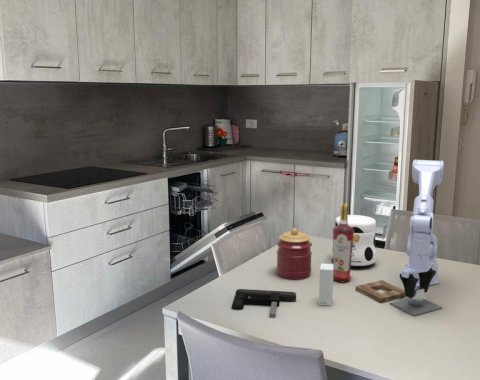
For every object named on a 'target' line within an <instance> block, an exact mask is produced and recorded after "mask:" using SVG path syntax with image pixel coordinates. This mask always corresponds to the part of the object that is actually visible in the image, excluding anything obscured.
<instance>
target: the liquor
mask: <svg viewBox="0 0 480 380" xmlns="http://www.w3.org/2000/svg"><path fill="white" fill-rule="evenodd" d="M348 212H349V203H346V202H345V203H344V202H343V203H340V215H339V216H340V224H339V225H338V226H336V227H335V226H334V227H333V228H332V247H333V255H332V259H333V263H332V264H333V268H334V271H333V280H335V281H337V282H339V283H340V282H341V283H345V282H348V281H349V280H350V279H352V276H351V268H352V267H351V256H352V247H353V236H354V229H353V228H352V227H350V226H348V216H347V215H348Z"/></svg>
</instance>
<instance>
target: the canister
mask: <svg viewBox="0 0 480 380" xmlns="http://www.w3.org/2000/svg"><path fill="white" fill-rule="evenodd" d="M278 238H279V240H278V241H277V242H276V246H277V250H276V274H277V275H278V276H279V277H280V278H283V279H288V280H303V279H306V278H309V277H310V276H311V273H312V255H313V254H312V252H313V251H312V250H311V247H312V245H313V243H312V242H311V241H310V239H311V238H310V236H309V235H307V234H306V233H305V232H303V231H299V229H298V228H296V227H294V228H291V231H290V230H289V231H285V232H284V233H282V234H280V235H279V236H278Z"/></svg>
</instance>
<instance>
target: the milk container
mask: <svg viewBox="0 0 480 380" xmlns="http://www.w3.org/2000/svg"><path fill="white" fill-rule="evenodd" d="M340 216H341V215H339V216H337V217H336V218H335V225H334V227H336V226H338V225H339V224H340ZM347 216H348V226H350V227H352V228H353V229H354V236H353V247H352V256H351V268H366V267H369V266H372V265H373V264H374V263H375V262H376V260H377V257H378V256H377V255H378V249H377V245H376V233H377V229H376V228H377V222H376V219H375V218H373V217H371V216H367V215H361V214H347ZM331 248H332V249H331V254H332V256H333V246H332V247H331Z"/></svg>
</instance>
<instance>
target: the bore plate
mask: <svg viewBox="0 0 480 380" xmlns="http://www.w3.org/2000/svg"><path fill="white" fill-rule="evenodd" d="M379 290H383V291H385V292H379ZM355 291H356V292H358V293H361V294H362V295H364V296H366V297H368V298H370V299H372V300H374V301H376V302H378V303H379V304H383V303H386V302H392V301H394V300H395V301H396V300H400V299H402V298H403V299H404V298H407V297H406V294H405V289H404V288H403V289H402V288H400V287H398V286H396V285H394V284H392V283H389V282H387V281H385V280H383V279H381V280H376V281H371V282H367V283H363V284H359V285H355Z"/></svg>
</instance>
